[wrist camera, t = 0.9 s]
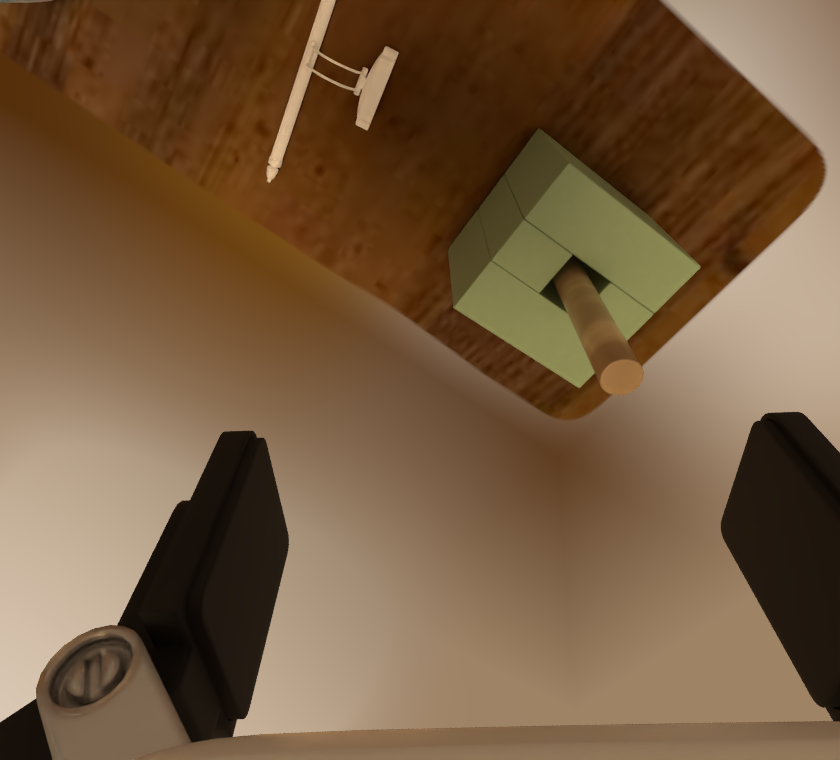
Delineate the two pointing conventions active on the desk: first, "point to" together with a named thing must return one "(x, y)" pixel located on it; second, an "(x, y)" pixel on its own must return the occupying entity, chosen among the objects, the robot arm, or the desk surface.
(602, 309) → the stick
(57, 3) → the desk surface
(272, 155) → the picture light
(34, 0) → the pill bottle
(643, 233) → the stand
